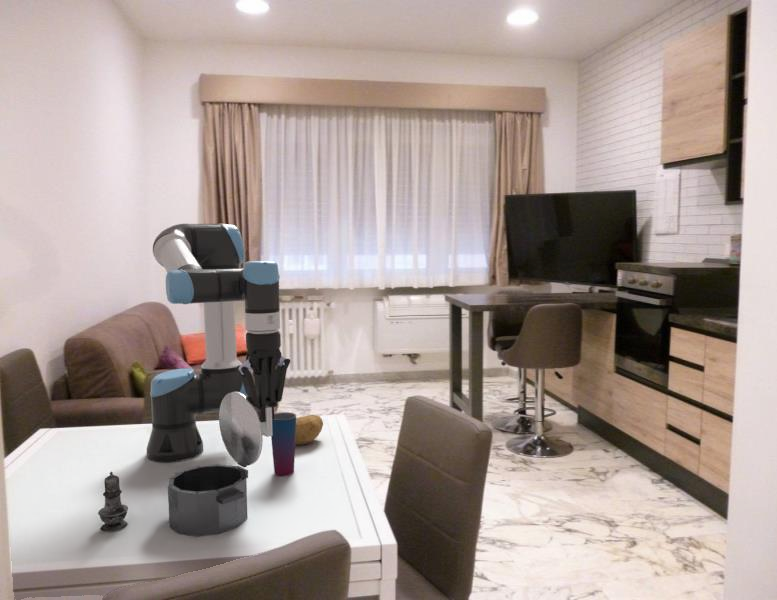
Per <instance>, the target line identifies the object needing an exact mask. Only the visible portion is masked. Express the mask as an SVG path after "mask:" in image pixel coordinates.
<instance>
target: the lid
mask: <svg viewBox="0 0 777 600" xmlns="http://www.w3.org/2000/svg"><path fill="white" fill-rule="evenodd" d="M218 422H219V423H218V424H219V431H220V435H221V439H222V442H223V444H224V446H225V449H226V451H227V453H228V455H230V457H231V458H232V460H234V461H235V462H236V465H237V466H240V467H242V468H244V469H246V468H248V466H251V465H254V464H255V463H256V462H257V461H258V460H259V459H260V456H261V453H262V449H263V441H264V440H263V435H262V428H261V424H260V420H259V417H258V414H257V409H256V407H254V406H253V404H252V403H251V401H250V400H249V399H248V398H247V397H246V396H245V395H244V394H242V393H240V392H231V393H228V394H227V395H226V396H225V397H224V398H223V400H222V402H221V405H220V410H219V412H218Z"/></svg>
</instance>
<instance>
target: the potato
mask: <svg viewBox="0 0 777 600" xmlns="http://www.w3.org/2000/svg"><path fill="white" fill-rule="evenodd" d="M323 426H324V420H323V419H322V418H321V416H320V415H315V414H307V415H304V416H298V417H296V435H295V445H301V446H302V445H307V444H310V443H312V442H313V441H314V440H316V439H317V437H319V435H320V434H321V432H322V429H323Z"/></svg>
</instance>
